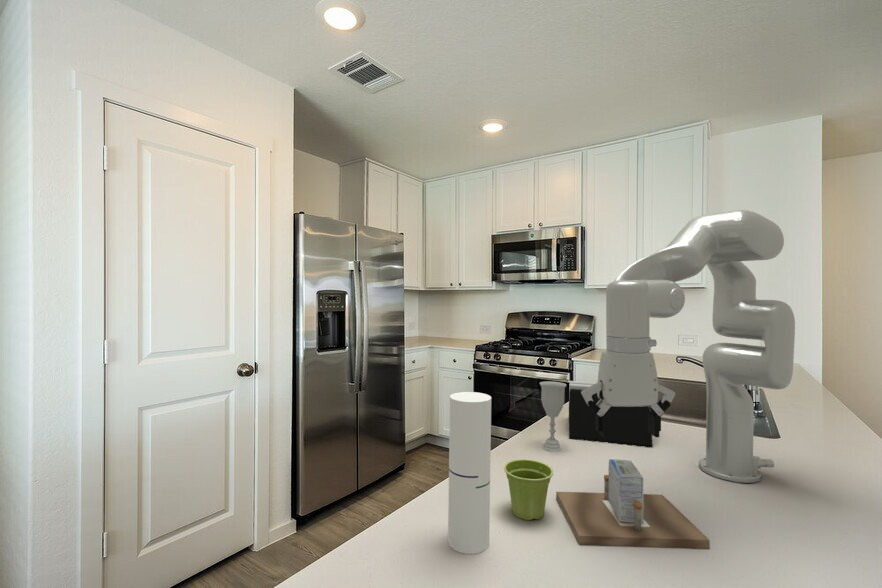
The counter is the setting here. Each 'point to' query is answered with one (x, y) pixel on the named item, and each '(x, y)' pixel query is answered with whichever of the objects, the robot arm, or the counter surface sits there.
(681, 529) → the pin board
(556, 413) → the chalice
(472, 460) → the cylindrical container
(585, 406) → the device stand
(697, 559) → the counter surface
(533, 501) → the plant pot
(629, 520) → the medicine box
